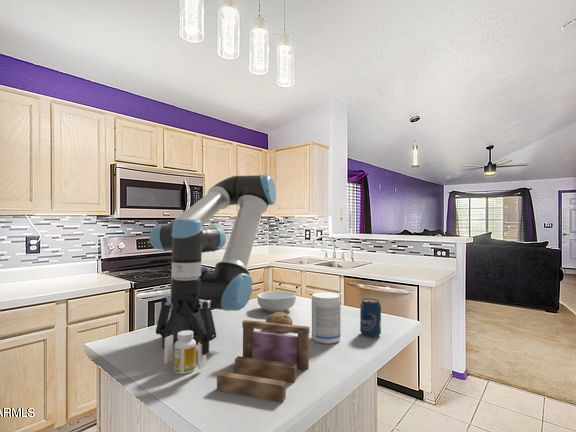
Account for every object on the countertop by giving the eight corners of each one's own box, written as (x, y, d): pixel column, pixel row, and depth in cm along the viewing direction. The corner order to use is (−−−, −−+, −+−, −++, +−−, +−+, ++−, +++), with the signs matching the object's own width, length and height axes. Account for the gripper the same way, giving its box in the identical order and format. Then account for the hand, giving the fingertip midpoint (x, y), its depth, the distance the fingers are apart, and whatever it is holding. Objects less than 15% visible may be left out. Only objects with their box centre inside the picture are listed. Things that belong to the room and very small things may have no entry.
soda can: (357, 336, 112) (358, 301, 112) (363, 330, 118) (363, 297, 118) (378, 340, 109) (378, 303, 109) (382, 333, 115) (382, 299, 115)
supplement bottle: (197, 365, 88) (198, 329, 88) (192, 374, 83) (193, 336, 83) (177, 365, 88) (178, 329, 88) (171, 374, 82) (171, 336, 83)
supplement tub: (346, 341, 107) (346, 296, 108) (324, 346, 102) (324, 299, 102) (327, 332, 115) (327, 290, 116) (305, 337, 110) (306, 293, 110)
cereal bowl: (279, 303, 155) (280, 288, 155) (303, 311, 142) (303, 295, 143) (249, 309, 144) (249, 293, 145) (272, 318, 132) (272, 300, 132)
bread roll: (263, 340, 117) (260, 323, 114) (270, 320, 126) (268, 304, 123) (290, 343, 115) (288, 325, 112) (296, 322, 124) (294, 305, 121)
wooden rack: (211, 389, 76) (211, 342, 76) (245, 356, 94) (245, 319, 94) (289, 403, 70) (290, 352, 70) (309, 366, 88) (310, 326, 89)
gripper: (141, 277, 85) (139, 364, 85) (216, 283, 79) (215, 376, 78) (160, 273, 92) (159, 353, 92) (231, 278, 86) (229, 363, 86)
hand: (185, 363), depth 85 cm, fingers open, 9 cm apart
